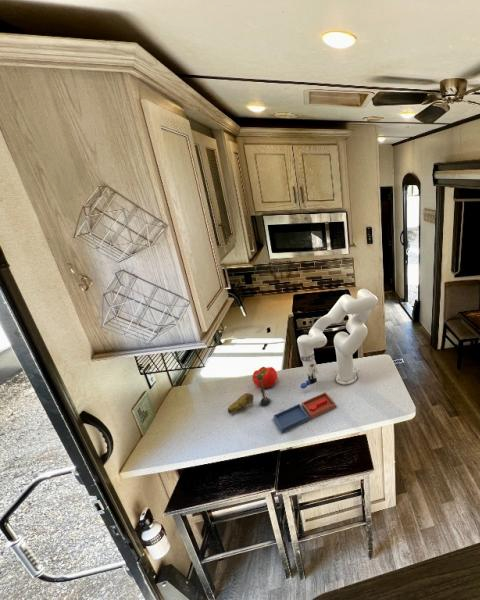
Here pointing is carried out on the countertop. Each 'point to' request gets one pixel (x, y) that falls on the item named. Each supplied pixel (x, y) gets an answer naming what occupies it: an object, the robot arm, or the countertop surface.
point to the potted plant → (262, 390)
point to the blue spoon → (306, 383)
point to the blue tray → (291, 418)
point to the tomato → (266, 377)
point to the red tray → (321, 409)
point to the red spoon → (318, 404)
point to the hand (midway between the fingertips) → (312, 382)
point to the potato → (241, 403)
